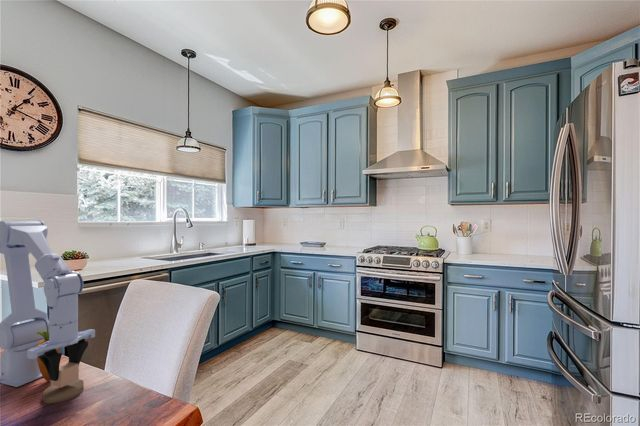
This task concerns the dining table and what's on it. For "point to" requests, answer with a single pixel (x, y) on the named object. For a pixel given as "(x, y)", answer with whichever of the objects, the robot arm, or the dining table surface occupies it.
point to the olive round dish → (63, 392)
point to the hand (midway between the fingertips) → (63, 375)
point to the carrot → (40, 363)
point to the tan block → (67, 374)
